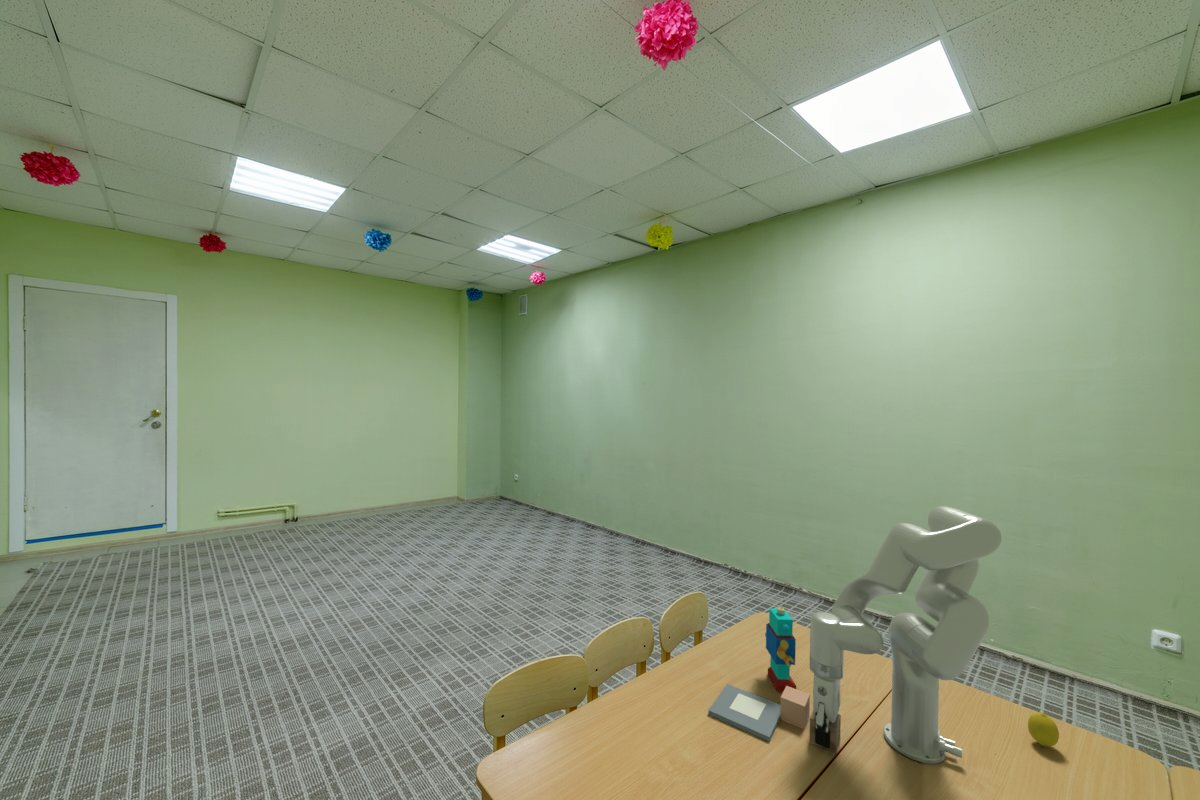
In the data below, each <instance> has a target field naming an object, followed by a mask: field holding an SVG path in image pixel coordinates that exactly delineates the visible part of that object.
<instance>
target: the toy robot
mask: <svg viewBox="0 0 1200 800" xmlns="http://www.w3.org/2000/svg"><path fill="white" fill-rule="evenodd" d="M780 603H781V604H780ZM778 604H779V606H778V607H777V608H769V615H768V619H769V622H767V623H766V624H765V627H766V628H765V629H766V630H765V633H764V636H765V648H766V651H767V652H768V654H769V655H770V666H769V667H768V668H767V676H768V677H769V679H770V681H771V682H772V684H773V686H774V687H775V689H776V691H777V692H784V690H785V688H786V686H789V687H791V688H794V689H797V685H796V683H795V682H794V680H793V679H792V677H791V675H790V670H791V667H792V666H795V665H796V640H797V639H796V638H795V637H794V635H793V629H794V628H793V626H794V621H793V618H792V617H791V616H790V614H789V613H788V612H787V611H786V609H785V608H784V605H783V602H781V600H779V601H778ZM781 606H782V607H781Z"/></svg>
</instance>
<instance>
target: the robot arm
mask: <svg viewBox="0 0 1200 800" xmlns="http://www.w3.org/2000/svg"><path fill="white" fill-rule="evenodd" d="M927 516H928V517H927V524H928V527H929V529H930V530H928V529H925V528H924V527H921V526H918V525H916V524H913V523H907V522H900V523H897V524H895V525H894V526H892V528H891V529H890V531H889V532H888V534H887V536H886V538H885V540H884V541H883V543H882V545H881V547H880V548H879V550H878V552H877V554H876V555H875V557H874V559H873V561H872V563H871V565H870V567H869V568H868V570H867V571H866V572H865V573H863V574H861V575H859V576H858V577H856V578H855V579H853V580H851V581H850V582H849V583H848V584H846V585H845V587H843V589H842V591H841V592H840V593H839V595H838V596H837V599H836V601H835V602H834V605H833V607H832V609H831V612H826V611H817V612H814V613H813V614H812V615H811V617H810V623H809V624H810V626H809V627H810V629H809V632H810V633H809V635H810V638H809V670H810V671H811V672H812V673H813V688H812V690H813V691H812V692H813V693H812V711H813V714H814V715H815V716H816V726H815V743H816V744H819V745H821V746H823V747H826V748H828V749H829V747H830V731H829V721H830V722H832V723H834V722H835V721H836V718H837V715H838V714H839V710H840V707H841V680H842V679H843V678H844V661H845V660H844V655H845V654H844V651H847V652H852V653H855V654H860V655H867V656H868V655H875V654H877V653H878V652H880V651H881V650H882V648H883V646H884V638H883V635H882V633H881V632H880V631H879V629H878V628H877V627H876V626H875V625H874V624H873V623H872V622H870V620H868V618H866V617H865V616H864V615H863V614H864V612H865V610H866V608H867V607H868V605H869V604H870V603H871V602H872V601H873V600H874V599H876V598H877V597H879V596H884V595H902V594H904V593H905V592H907V589H908V587H909V586H910V584H911V582H912V579H913V578H914V576H915V575H916V573H917V571H918V569H919V567H920V568H922V569H925V570H927V572H926V573H925V575H924V577H923V578H922V581H921V583H920V584H919V586H918V588H917V590H916V592H915V596H914V599H915V602H916V603H915V604H916V605H917V606H918V607H919V609H921V611H922V612H924V613H925V614H927V616H929V617H931V619H933V620H935V621H936V622H937V625H936V626H935V625H934V624H933V623H931V622H929V621H928V620H927V619H925V618H924V617H922V616H920V615H918V614H916V613H913V612H900V613H897V614H896V615H894V617H893V618H892V619H891V620H890V624H889V628H888V634H889V635H888V637H889V642H890V648H891V656H892V657H891V658H892V660H891V662H892V674H891V715H890V717H891V718H890V719H891V721H890V722H888V723H886V724H885V725H884V727H883V737H884V738H885V740H886V741H887V743H888V744H889V745H890V746H891V747H892V748H893V749H895V751H897V752H898V753H900V754H901V755H903V756H905V757H907V758H909V759H911V760H913V761H917V762H920V763H924V764H929V765H930V764H931V765H932V764H940V763H941V762H944V761H945V759H946V755H947V754H951V755H952V756H955V757H957V758H960V759H963V749H962V748H961V747H958V746H956V741H955V740H953V739H950V738H946V737H943V735H941V734H940V728H939V709H940V708H939V706H940V704H939V702H940V701H939V700H940V680H941V681H952V680H954V679H957V678H958V677H959V676H961V675H962V674H963V673H964V671H965V670H966V669H967V668H968V666H969V664H970V663H971V661H972V659H973V657H974V655H975V654H976V653H977V650H978V649H979V647H980V646H981V644H982V642H983V640H984V638H985V636H986V634H987V633H988V630H989V627H990V616H989V612H988V610H987V608H986V606H985V605H984V604H983V603H982V601H980V600H979V599H978V598H976V597H975V596H973V595H972V594H971V593H969V592H970V591H971V588H972V586H973V585H974V582H975V581H976V578H977V576H978V572H979V559H981V558H984V557H987V556H989V555H992V554H993V553H995V552H996V551H997V550H998V548H999V547H1000V545H1001V543H1002V534H1001V533H1002V532H1001V530H1000V529H999V527H997V525H996V524H995V523H994V522H992V521H990V520H989V519H987V518H984V517H983V516H982V517H981V516H978V515H975V514H973V513H970V512H967V511H964V510H962V509H958V508H955V507H951V506H945V505H942V506H941V505H940V506H936V507H934V508H932V509H931V511H930V512H929V514H928V515H927ZM824 714H826V715H827V717H825V716H824ZM824 720H826V725H825V724H824ZM946 753H947V754H946Z"/></svg>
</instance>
